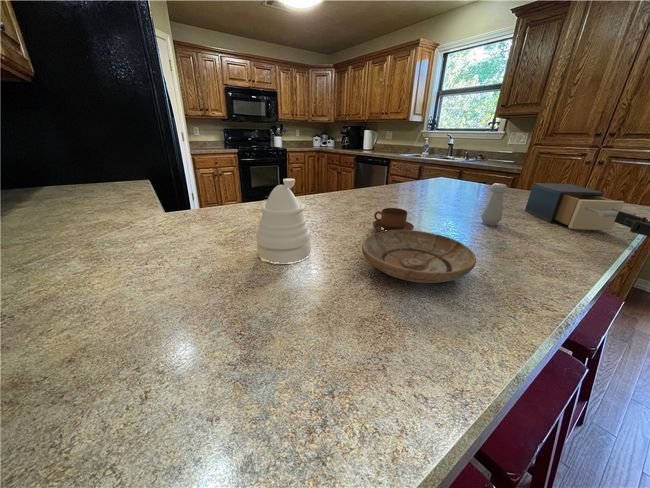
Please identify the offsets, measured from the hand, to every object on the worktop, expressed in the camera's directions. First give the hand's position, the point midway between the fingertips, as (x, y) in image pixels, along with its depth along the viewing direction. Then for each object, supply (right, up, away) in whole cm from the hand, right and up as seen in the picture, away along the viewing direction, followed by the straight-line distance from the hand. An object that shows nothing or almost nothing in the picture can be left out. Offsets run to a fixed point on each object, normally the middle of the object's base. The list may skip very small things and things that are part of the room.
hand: (648, 217), depth 66 cm
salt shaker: (-25, 0, +22) cm, 34 cm away
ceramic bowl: (-60, -12, -6) cm, 61 cm away
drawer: (+2, -1, +19) cm, 19 cm away
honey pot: (-89, -9, 0) cm, 90 cm away
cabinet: (+3, +3, +30) cm, 30 cm away
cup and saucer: (-59, -3, +15) cm, 61 cm away
